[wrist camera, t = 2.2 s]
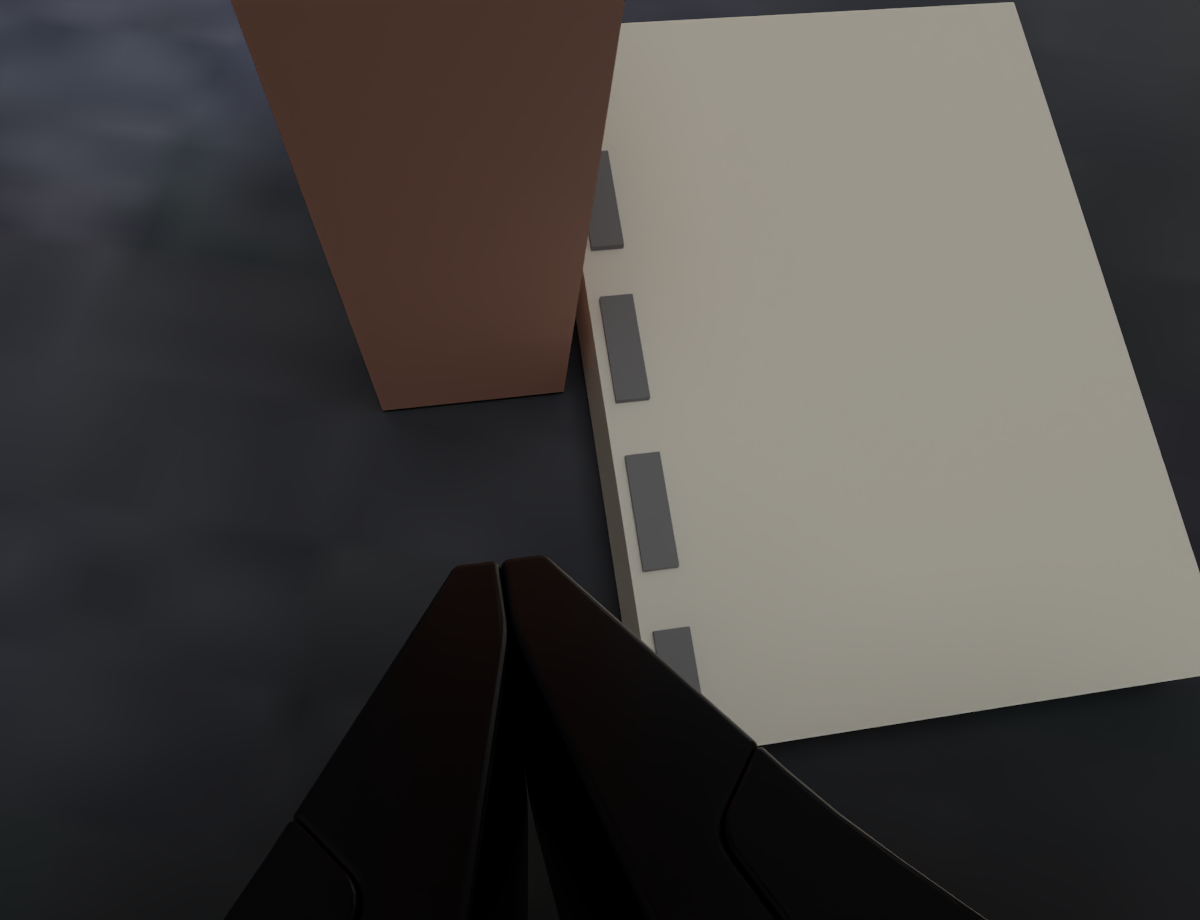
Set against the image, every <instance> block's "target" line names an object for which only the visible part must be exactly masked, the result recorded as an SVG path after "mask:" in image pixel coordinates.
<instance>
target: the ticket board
mask: <svg viewBox="0 0 1200 920" xmlns="http://www.w3.org/2000/svg"><path fill="white" fill-rule="evenodd" d="M576 323H577V330H578V336H579V343H580V349H581V356H582V362H583V369H584V375H585V382H586V389H587V395H588V402H589V408H590V415H591V421H592V428H593V435H594V441H595V448H596V454H597V461H598V467H599V474H600V480H601V487H602V494H603V500H604V507H605V513H606V520H607V526H608V533H609V540H610V546H611V553H612V559H613V566H614V572H615V579H616V585H617V592H618V599H619V605H620V612H621V618H622V623H623V624H624V625H625V626H626V627H627V628H628V629H629V630H630V631H632V632H633V633H634V634H635V635H636V636H637V637H638V638H639V639H641V640H642V641H643V642H644V643H645V644H646V645H647V646H649V647H650V648H651V649H652V650H653V651H654V652H655V653H656V654H658V655H659V656H660V657H661V658H662V659H663V660H664V661H665V662H667V663H668V664H669V665H670V666H671V667H672V668H673V669H674V670H676V671H677V672H678V673H679V674H680V675H681V676H682V677H683V678H685V679H686V680H687V681H688V682H689V683H690V684H691V685H692V686H694V687H695V688H696V689H697V690H698V691H699V692H700V693H701V694H703V695H704V696H705V697H706V698H707V699H708V700H709V701H710V702H712V703H713V704H714V705H715V706H716V707H717V708H718V709H719V710H721V711H722V712H723V713H724V714H725V715H726V716H727V717H729V718H730V719H731V720H732V721H733V722H734V723H735V724H736V725H738V726H739V727H740V728H741V729H742V730H743V731H744V732H745V733H747V734H748V735H749V736H750V737H751V738H752V739H753V740H754V741H755V742H756V743H757V746H760V745H766V744H773V743H779V742H785V741H792V740H798V739H804V738H811V737H817V736H823V735H830V734H836V733H842V732H848V731H855V730H861V729H867V728H874V727H880V726H886V725H893V724H899V723H905V722H912V721H918V720H924V719H931V718H937V717H943V716H950V715H956V714H962V713H969V712H975V711H981V710H988V709H994V708H1000V707H1007V706H1013V705H1019V704H1025V703H1032V702H1038V701H1044V700H1051V699H1057V698H1063V697H1070V696H1076V695H1082V694H1089V693H1095V692H1101V691H1108V690H1114V689H1120V688H1127V687H1133V686H1139V685H1146V684H1152V683H1158V682H1165V681H1171V680H1177V679H1183V678H1190V677H1196V676H1200V573H1199V570H1198V566H1197V563H1196V560H1195V557H1194V554H1193V551H1192V548H1191V545H1190V542H1189V539H1188V536H1187V533H1186V530H1185V527H1184V523H1183V520H1182V517H1181V514H1180V511H1179V508H1178V505H1177V502H1176V499H1175V496H1174V493H1173V490H1172V487H1171V484H1170V480H1169V477H1168V474H1167V471H1166V468H1165V465H1164V462H1163V459H1162V456H1161V453H1160V450H1159V447H1158V444H1157V441H1156V437H1155V434H1154V431H1153V428H1152V425H1151V422H1150V419H1149V416H1148V413H1147V410H1146V407H1145V404H1144V401H1143V398H1142V394H1141V391H1140V388H1139V385H1138V382H1137V379H1136V376H1135V373H1134V370H1133V367H1132V364H1131V361H1130V358H1129V355H1128V351H1127V348H1126V345H1125V342H1124V339H1123V336H1122V333H1121V330H1120V327H1119V324H1118V321H1117V318H1116V315H1115V312H1114V308H1113V305H1112V302H1111V299H1110V296H1109V293H1108V290H1107V287H1106V284H1105V281H1104V278H1103V275H1102V272H1101V269H1100V265H1099V262H1098V259H1097V256H1096V253H1095V250H1094V247H1093V244H1092V241H1091V238H1090V235H1089V232H1088V229H1087V226H1086V222H1085V219H1084V216H1083V213H1082V210H1081V207H1080V204H1079V201H1078V198H1077V195H1076V192H1075V189H1074V186H1073V183H1072V179H1071V176H1070V173H1069V170H1068V167H1067V164H1066V161H1065V158H1064V155H1063V152H1062V149H1061V146H1060V143H1059V140H1058V136H1057V133H1056V130H1055V127H1054V124H1053V121H1052V118H1051V115H1050V112H1049V109H1048V106H1047V103H1046V100H1045V97H1044V93H1043V90H1042V87H1041V84H1040V81H1039V78H1038V75H1037V72H1036V69H1035V66H1034V63H1033V60H1032V57H1031V54H1030V50H1029V47H1028V44H1027V41H1026V38H1025V35H1024V32H1023V29H1022V26H1021V23H1020V20H1019V17H1018V14H1017V11H1016V7H1015V4H1014V2H1007V3H988V4H970V5H951V6H933V7H914V8H896V9H877V10H859V11H840V12H822V13H803V14H785V15H767V16H748V17H730V18H711V19H693V20H674V21H656V22H637V23H621V28H620V34H619V41H618V47H617V54H616V60H615V66H614V73H613V79H612V86H611V92H610V98H609V105H608V111H607V118H606V124H605V130H604V137H603V143H602V150H601V156H600V162H599V169H598V175H597V182H596V188H595V195H594V201H593V207H592V214H591V220H590V227H589V233H588V239H587V246H586V252H585V259H584V265H583V271H582V278H581V284H580V291H579V297H578V304H577V310H576Z"/></svg>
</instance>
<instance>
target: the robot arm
mask: <svg viewBox="0 0 1200 920" xmlns="http://www.w3.org/2000/svg"><path fill="white" fill-rule="evenodd" d="M501 571H502V573H501ZM522 751H523V752H522ZM523 759H524V761H523ZM524 767H525V771H524ZM525 775H526V781H525ZM526 782H527V788H528V794H529V800H530V805H531V809H532V814H533V818H534V823H535V827H536V831H537V835H538V838H539V842H540V846H541V850H542V854H543V857H544V861H545V865H546V869H547V873H548V876H549V880H550V884H551V888H552V892H553V895H554V899H555V903H556V907H557V911H558V914H559V918H560V920H987V919H986V918H984V917H983V916H981V915H980V914H979V913H977V912H976V911H974V910H973V909H971V908H970V907H969V906H967V905H966V904H964V903H963V902H962V901H960V900H959V899H957V898H956V897H954V896H953V895H952V894H950V893H949V892H947V891H946V890H944V889H943V888H942V887H940V886H939V885H937V884H936V883H935V882H933V881H932V880H930V879H929V878H927V877H926V876H925V875H923V874H922V873H920V872H919V871H918V870H916V869H915V868H913V867H912V866H910V865H909V864H908V863H906V862H905V861H903V860H902V859H901V858H899V857H898V856H897V855H895V854H894V853H892V852H891V851H890V850H888V849H887V848H886V847H884V846H883V845H882V844H880V843H879V842H878V841H876V840H875V839H874V838H872V837H871V836H870V835H868V834H867V833H866V832H864V831H863V830H862V829H860V828H859V827H858V826H856V825H855V824H853V823H852V822H851V821H849V820H848V819H847V818H845V817H844V816H843V815H841V814H840V813H839V812H838V811H837V810H835V809H834V808H833V807H832V806H831V805H829V804H828V803H827V802H826V801H825V800H823V799H822V798H821V797H820V796H819V795H817V794H816V793H815V792H814V791H813V790H811V789H810V788H809V787H808V786H807V785H805V784H804V783H803V782H802V781H801V780H799V779H798V778H797V777H796V776H795V775H793V774H792V773H791V772H790V771H789V770H788V769H786V768H785V767H784V766H783V765H782V764H781V763H780V762H779V761H777V760H776V759H775V758H774V757H773V756H772V755H771V754H770V753H768V752H767V751H766V750H765V749H764V748H761V747H759V748H757V743H756V742H755V741H754V740H753V739H752V738H751V737H750V736H749V735H748V734H747V733H745V732H744V731H743V730H742V729H741V728H740V727H739V726H738V725H736V724H735V723H734V722H733V721H732V720H731V719H730V718H729V717H727V716H726V715H725V714H724V713H723V712H722V711H721V710H719V709H718V708H717V707H716V706H715V705H714V704H713V703H712V702H710V701H709V700H708V699H707V698H706V697H705V696H704V695H703V694H701V693H700V692H699V691H698V690H697V689H696V688H695V687H694V686H692V685H691V684H690V683H689V682H688V681H687V680H686V679H685V678H683V677H682V676H681V675H680V674H679V673H678V672H677V671H676V670H674V669H673V668H672V667H671V666H670V665H669V664H668V663H667V662H665V661H664V660H663V659H662V658H661V657H660V656H659V655H658V654H656V653H655V652H654V651H653V650H652V649H651V648H650V647H649V646H647V645H646V644H645V643H644V642H643V641H642V640H641V639H639V638H638V637H637V636H636V635H635V634H634V633H633V632H632V631H630V630H629V629H628V628H627V627H626V626H625V625H624V624H623V623H621V622H620V621H619V620H618V619H617V618H616V617H615V616H614V615H612V614H611V613H610V612H609V611H608V610H607V609H606V608H605V607H603V606H602V605H601V604H600V603H599V602H598V601H597V600H596V599H594V598H593V597H592V596H591V595H590V594H589V593H588V592H587V591H585V590H584V589H583V588H582V587H581V586H580V585H579V584H578V583H576V582H575V581H574V580H573V579H572V578H571V577H570V576H569V575H567V574H566V573H565V572H564V571H563V570H562V569H561V568H559V567H558V566H557V565H556V564H555V563H554V562H553V561H552V560H550V559H549V558H548V557H546V556H543V555H538V556H530V557H522V558H515V559H508V560H506V561H505V562H503V564H502V566H501V568H500V566H499V564H498V563H496V562H483V563H475V564H467V565H460V566H457V567H455V568H454V569H453V570H452V571H451V573H450V574H449V576H448V577H447V579H446V580H445V582H444V583H443V585H442V586H441V588H440V590H439V591H438V593H437V594H436V596H435V597H434V599H433V600H432V602H431V604H430V605H429V607H428V608H427V610H426V611H425V613H424V614H423V616H422V618H421V619H420V621H419V622H418V624H417V625H416V627H415V628H414V630H413V631H412V633H411V635H410V636H409V638H408V639H407V641H406V642H405V644H404V645H403V647H402V649H401V650H400V652H399V653H398V655H397V656H396V658H395V659H394V661H393V662H392V664H391V666H390V667H389V669H388V670H387V672H386V673H385V675H384V676H383V678H382V680H381V681H380V683H379V684H378V686H377V687H376V689H375V690H374V692H373V693H372V695H371V697H370V698H369V700H368V701H367V703H366V704H365V706H364V707H363V709H362V711H361V712H360V714H359V715H358V717H357V718H356V720H355V721H354V723H353V725H352V726H351V728H350V729H349V731H348V732H347V734H346V735H345V737H344V738H343V740H342V742H341V743H340V745H339V746H338V748H337V749H336V751H335V752H334V754H333V756H332V757H331V759H330V760H329V762H328V763H327V765H326V766H325V768H324V769H323V771H322V773H321V774H320V776H319V777H318V779H317V780H316V782H315V783H314V785H313V787H312V788H311V790H310V791H309V793H308V794H307V796H306V797H305V799H304V800H303V802H302V804H301V805H300V807H299V808H298V810H297V811H296V813H295V814H294V821H292V822H290V823H288V824H287V826H286V827H285V829H284V830H283V832H282V834H281V835H280V837H279V838H278V840H277V841H276V843H275V845H274V846H273V848H272V849H271V851H270V852H269V854H268V855H267V857H266V859H265V860H264V862H263V863H262V864H261V866H260V867H259V869H258V870H257V872H256V873H255V875H254V876H253V877H252V879H251V880H250V882H249V883H248V885H247V886H246V888H245V889H244V891H243V892H242V893H241V895H240V896H239V898H238V899H237V901H236V902H235V904H234V905H233V907H232V908H231V909H230V911H229V912H228V914H227V915H226V917H225V918H224V919H223V920H527V912H528V804H527V792H526Z"/></svg>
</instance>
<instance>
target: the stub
mask: <svg viewBox="0 0 1200 920" xmlns="http://www.w3.org/2000/svg"><path fill="white" fill-rule="evenodd" d="M231 2H232V5H233V8H234V11H235V13H236V16H237V19H238V21H239V24H240V27H241V29H242V32H243V35H244V38H245V40H246V43H247V46H248V48H249V51H250V54H251V56H252V59H253V62H254V65H255V67H256V70H257V73H258V75H259V78H260V81H261V83H262V86H263V89H264V92H265V94H266V97H267V100H268V102H269V105H270V108H271V110H272V113H273V116H274V119H275V121H276V124H277V127H278V129H279V132H280V135H281V137H282V140H283V143H284V146H285V148H286V151H287V154H288V156H289V159H290V162H291V164H292V167H293V170H294V173H295V175H296V178H297V181H298V183H299V186H300V189H301V191H302V194H303V197H304V200H305V202H306V205H307V208H308V210H309V213H310V216H311V218H312V221H313V224H314V227H315V229H316V232H317V235H318V237H319V240H320V243H321V245H322V248H323V251H324V254H325V256H326V259H327V262H328V264H329V267H330V270H331V272H332V275H333V278H334V281H335V283H336V286H337V289H338V291H339V294H340V297H341V299H342V302H343V305H344V308H345V310H346V313H347V316H348V318H349V321H350V324H351V326H352V329H353V332H354V335H355V337H356V340H357V343H358V345H359V348H360V351H361V353H362V356H363V359H364V362H365V364H366V367H367V370H368V372H369V375H370V378H371V380H372V383H373V386H374V389H375V391H376V394H377V397H378V399H379V402H380V405H381V407H382V410H383V411H384V410H394V409H403V408H413V407H422V406H432V405H441V404H451V403H460V402H470V401H480V400H489V399H499V398H508V397H518V396H527V395H537V394H546V393H556V392H564V387H565V380H566V374H567V368H568V361H569V355H570V348H571V342H572V336H573V329H574V323H575V316H576V310H577V304H578V297H579V291H580V284H581V278H582V271H583V265H584V259H585V252H586V246H587V239H588V233H589V227H590V220H591V214H592V207H593V201H594V195H595V188H596V182H597V175H598V169H599V162H600V156H601V150H602V143H603V137H604V130H605V124H606V118H607V111H608V105H609V98H610V92H611V86H612V79H613V73H614V66H615V60H616V54H617V47H618V41H619V34H620V28H621V21H622V15H623V9H624V2H625V0H231Z"/></svg>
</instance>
